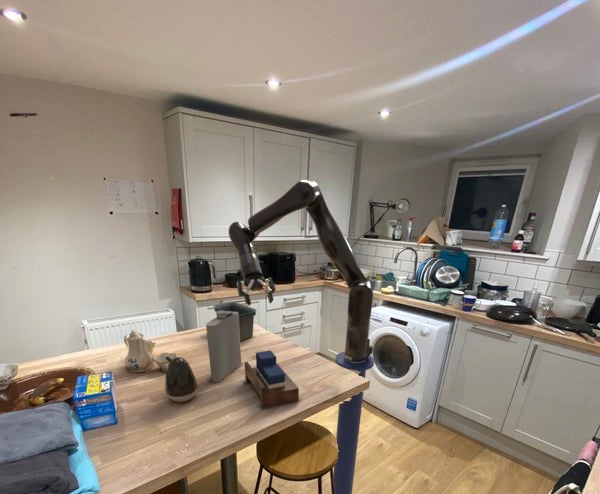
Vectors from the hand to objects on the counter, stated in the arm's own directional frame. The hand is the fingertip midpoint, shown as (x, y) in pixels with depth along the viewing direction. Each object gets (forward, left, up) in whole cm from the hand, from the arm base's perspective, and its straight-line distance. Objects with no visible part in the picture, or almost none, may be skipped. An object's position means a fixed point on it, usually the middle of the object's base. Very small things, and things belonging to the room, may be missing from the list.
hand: (260, 303), depth 127 cm
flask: (+15, 0, -27) cm, 31 cm away
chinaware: (+43, -18, -27) cm, 54 cm away
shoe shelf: (+4, +20, -27) cm, 33 cm away
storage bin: (+2, -37, -27) cm, 46 cm away
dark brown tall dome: (+33, +13, -27) cm, 44 cm away
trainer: (+4, +20, -22) cm, 29 cm away
